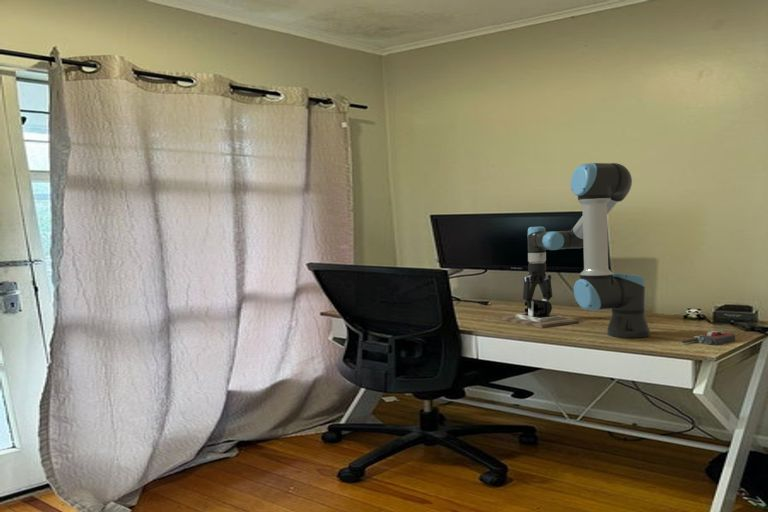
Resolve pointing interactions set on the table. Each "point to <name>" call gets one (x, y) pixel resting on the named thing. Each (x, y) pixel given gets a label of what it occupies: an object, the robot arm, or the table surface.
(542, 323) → the lens rest
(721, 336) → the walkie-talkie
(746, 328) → the table surface
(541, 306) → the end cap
